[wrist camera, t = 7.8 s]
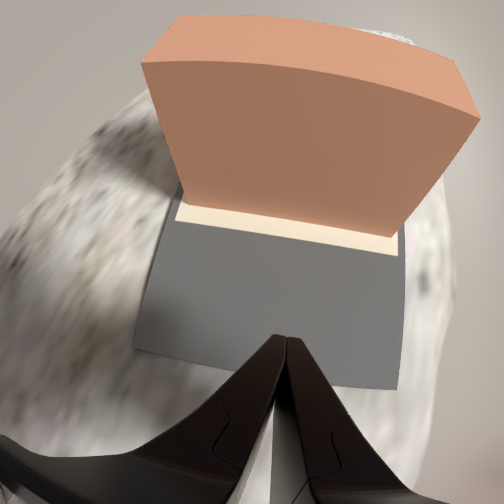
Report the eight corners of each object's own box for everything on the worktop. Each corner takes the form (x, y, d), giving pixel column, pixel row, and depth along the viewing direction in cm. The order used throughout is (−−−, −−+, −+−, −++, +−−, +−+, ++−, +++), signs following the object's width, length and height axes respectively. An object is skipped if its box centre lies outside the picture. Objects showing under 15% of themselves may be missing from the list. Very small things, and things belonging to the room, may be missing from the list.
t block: (391, 238, 17) (480, 118, 8) (188, 205, 18) (140, 62, 9) (378, 90, 22) (409, -9, 13) (238, 68, 23) (232, -36, 14)
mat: (393, 390, 14) (396, 390, 14) (134, 347, 15) (131, 346, 15) (385, 90, 23) (387, 87, 23) (228, 66, 24) (228, 62, 24)
